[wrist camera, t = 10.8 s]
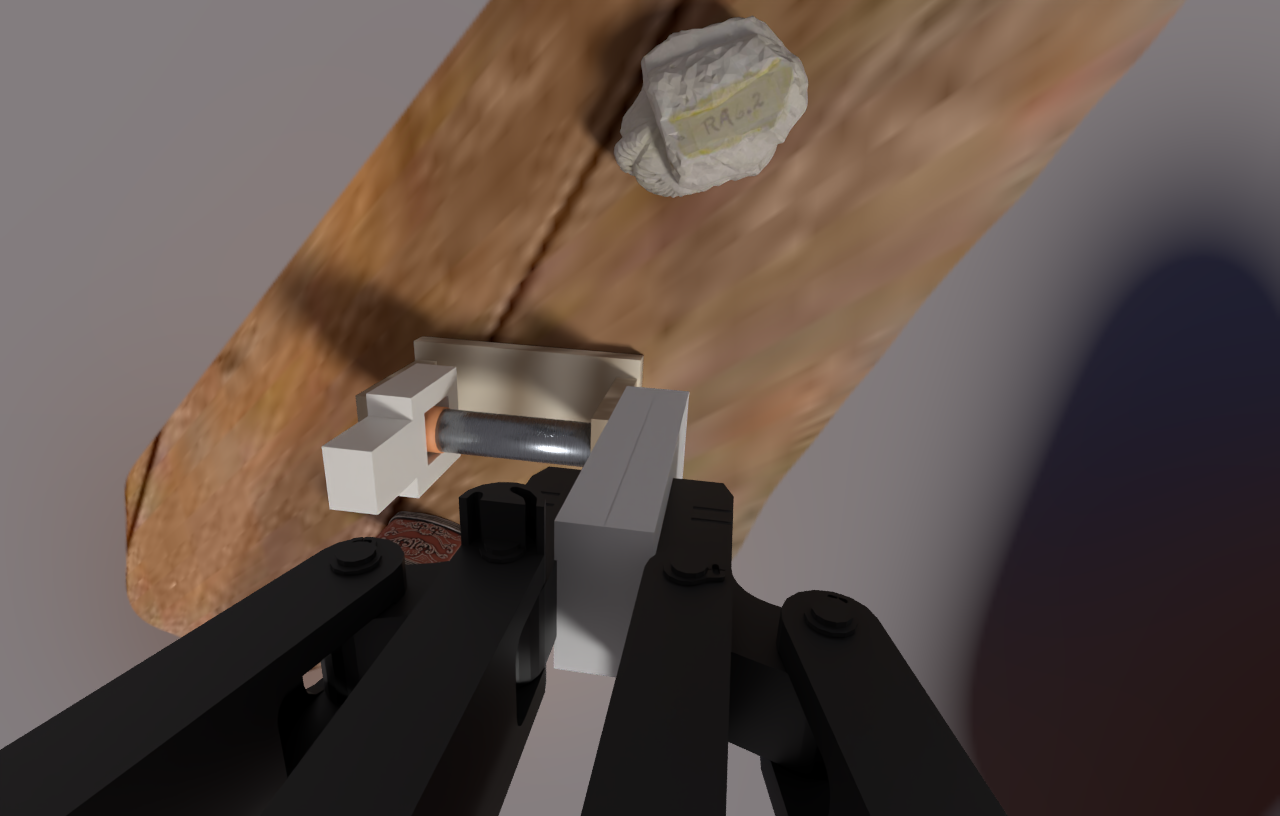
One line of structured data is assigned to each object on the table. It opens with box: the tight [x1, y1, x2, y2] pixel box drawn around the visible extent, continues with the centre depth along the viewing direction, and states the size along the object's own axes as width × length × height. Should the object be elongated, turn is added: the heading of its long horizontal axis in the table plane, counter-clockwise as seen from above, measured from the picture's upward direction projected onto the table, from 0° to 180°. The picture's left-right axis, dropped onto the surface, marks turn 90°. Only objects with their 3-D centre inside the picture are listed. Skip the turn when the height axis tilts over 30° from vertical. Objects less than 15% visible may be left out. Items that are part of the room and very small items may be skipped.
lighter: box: [376, 511, 461, 565], centre depth 55 cm, size 8×3×10 cm, turn 77°
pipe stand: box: [356, 336, 644, 467], centre depth 49 cm, size 18×8×11 cm, turn 87°
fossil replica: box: [614, 16, 808, 198], centre depth 42 cm, size 12×8×10 cm
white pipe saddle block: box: [322, 363, 461, 515], centre depth 44 cm, size 3×7×12 cm, turn 177°
